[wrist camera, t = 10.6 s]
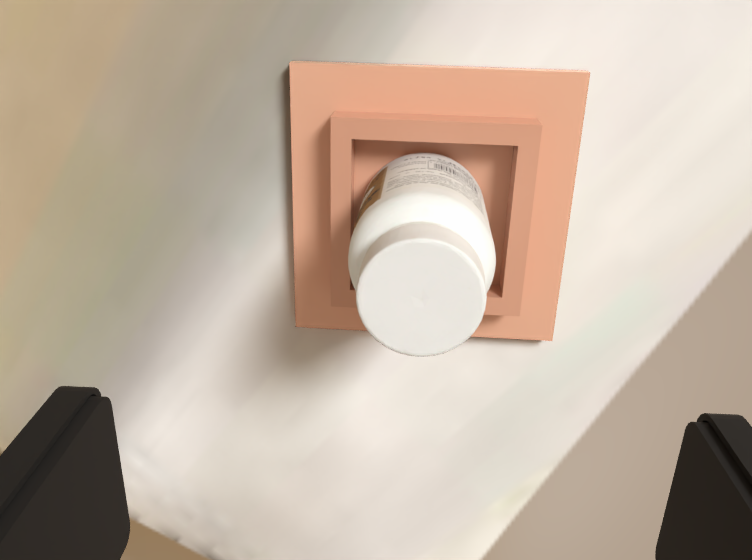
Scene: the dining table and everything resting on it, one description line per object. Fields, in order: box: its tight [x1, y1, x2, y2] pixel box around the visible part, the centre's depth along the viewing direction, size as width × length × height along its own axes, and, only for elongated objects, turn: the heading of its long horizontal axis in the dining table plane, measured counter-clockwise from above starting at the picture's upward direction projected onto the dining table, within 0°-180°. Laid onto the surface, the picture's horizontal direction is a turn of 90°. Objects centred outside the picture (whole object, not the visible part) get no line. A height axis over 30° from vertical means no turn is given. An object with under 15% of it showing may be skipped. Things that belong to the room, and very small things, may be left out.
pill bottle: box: [348, 153, 496, 357], centre depth 22 cm, size 4×4×8 cm
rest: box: [289, 61, 590, 341], centre depth 25 cm, size 10×10×2 cm
